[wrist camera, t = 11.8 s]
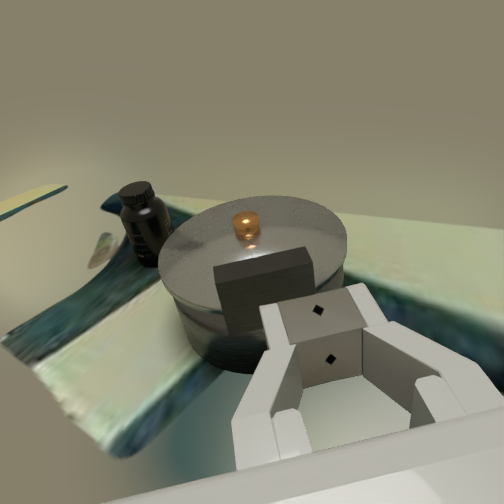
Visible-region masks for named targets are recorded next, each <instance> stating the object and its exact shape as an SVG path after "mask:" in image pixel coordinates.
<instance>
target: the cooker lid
mask: <svg viewBox="0 0 504 504" xmlns="http://www.w3.org/2000/svg"><path fill="white" fill-rule="evenodd" d="M346 253H347V234H346V230H345V227H344V225H343V223H342V222H341V220H340V219H339V218H338V217H337V216H336V215H335V214H334V213H333V212H332V211H330V210H329V209H327V208H325V207H324V206H321V205H319V204H317V203H315V202H312V201H309V200H305V199H301V198H296V197H289V196H258V197H249V198H244V199H238V200H234V201H230V202H227V203H224V204H220V205H218V206H215V207H212V208H210V209H208V210H205V211H203V212H201V213H199V214H197V215H196V216H194V217H192V218H191V219H189V220H188V221H186V222H185V223H183V224H182V225H181V226H180V227H178V228H177V229H176V230H175V231H174V232H173V233H172V234H171V235H170V236H169V238H168V239H167V240H166V242H165V243H164V245H163V247H162V249H161V251H160V254H159V259H158V270H159V273H160V276H161V279H162V282H163V284H164V286H165V288H166V289H167V291H168V292H169V293H170V294H171V295H172V296H173V297H174V298H175V299H177V300H178V301H179V302H181V303H183V304H184V305H186V306H188V307H191V308H193V309H196V310H199V311H202V312H207V313H211V314H219V315H224V319H225V322H226V326H227V330H228V333H229V336H232V335H237V334H241V333H245V332H250V331H254V330H259V329H263V324H262V319H261V314H260V309H259V306H263V305H268V304H273V303H277V302H281V301H286V300H291V299H296V298H301V297H306V296H310V295H314V294H316V292H317V291H319V290H320V289H321V288H323V287H324V286H325V285H326V284H327V283H329V282H330V281H331V280H332V279H333V277H334V276H335V275H336V274H337V273H338V271H339V270H340V268H341V267H342V265H343V263H344V260H345V258H346Z"/></svg>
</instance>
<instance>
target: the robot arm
mask: <svg viewBox="0 0 504 504" xmlns="http://www.w3.org/2000/svg"><path fill="white" fill-rule="evenodd" d="M259 309H260V314H261V319H262V324H263V329H264V334H265V339H266V344H267V348H268V350H267V351H264V353H263V355H262V358H261V360H260V362H259V364H258V366H257V368H256V370H255V372H254V374H253V377H252V379H251V381H250V383H249V385H248V387H247V389H246V391H245V393H244V395H243V397H242V400H241V402H240V404H239V406H238V408H237V410H236V412H235V414H234V416H233V419H232V421H231V424H232V433H233V441H234V449H235V459H236V467H237V471H233V472H229V473H225V474H221V475H216V476H213V477H208V478H204V479H200V480H196V481H192V482H187V483H184V484H180V485H175V486H171V487H167V488H163V489H159V490H155V491H151V492H146V493H142V494H138V495H134V496H130V497H126V498H122V499H118V500H114V501H109V502H105V503H101V504H504V398H503V396H502V395H501V394H500V392H499V391H498V390H497V389H496V387H495V386H494V385H493V383H492V382H491V381H490V380H489V378H488V377H487V376H486V374H485V373H484V372H483V371H482V369H481V368H480V367H479V365H478V364H477V363H475V362H473V361H471V360H469V359H467V358H465V357H463V356H461V355H459V354H457V353H455V352H453V351H451V350H449V349H447V348H446V347H444V346H442V345H440V344H438V343H436V342H434V341H432V340H430V339H428V338H426V337H424V336H422V335H420V334H418V333H416V332H414V331H412V330H410V329H408V328H406V327H404V326H402V325H400V324H398V323H396V322H394V321H392V322H388V321H387V319H386V318H385V316H384V314H383V313H382V311H381V310H380V308H379V306H378V305H377V303H376V302H375V300H374V298H373V297H372V295H371V293H370V292H369V290H368V289H367V287H366V285H365V284H363V283H359V284H355V285H351V286H347V287H345V288H339V289H335V290H331V291H327V292H323V293H318V294H314V295H310V296H306V297H301V298H296V299H291V300H286V301H281V302H277V303H273V304H268V305H263V306H259ZM359 375H363V377H364V378H366V379H367V380H368V381H370V382H371V383H372V384H374V385H375V386H376V387H377V388H378V389H380V390H381V391H382V392H384V393H385V394H386V395H388V396H389V397H390V398H391V399H393V400H394V401H395V402H397V403H398V404H399V405H400V406H402V407H403V408H404V409H405V410H407V411H408V412H409V413H410V414H411V419H410V427H409V429H407V430H403V431H399V432H395V433H390V434H386V435H382V436H378V437H374V438H370V439H366V440H362V441H358V442H354V443H350V444H345V445H341V446H337V447H333V448H328V449H324V450H320V451H316V452H312V449H311V446H310V442H309V439H308V436H307V432H306V429H305V426H304V422H303V420H302V416H301V412H300V411H298V407H299V403H300V400H301V397H302V393H303V389H305V388H308V387H312V386H316V385H319V384H323V383H327V382H331V381H335V380H340V379H345V378H349V377H355V376H359Z"/></svg>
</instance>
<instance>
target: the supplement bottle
mask: <svg viewBox="0 0 504 504" xmlns="http://www.w3.org/2000/svg"><path fill="white" fill-rule="evenodd" d="M118 194H119V197H120V200H121V203H122V206H123V209H122V211H121V214H120V217H121V221H122V223H123V225H124V228H125V230H126V233H127V235H128V237H129V240H130V242H131V244H132V247H133V249H134V251H135V254H136V256H137V258H138V260H139V262H140V263H141V264H143V265H145V266H151V267H153V266H158V259H159V254H160V251H161V249H162V247H163V245H164V243H165V242H166V240H167V239H168V238H169V236H170V235H171V234H172V233H173V232H174V229H173V226H172V223H171V220H170V217H169V214H168V211H167V208H166V206H165V203H164V202H163V201H162V200H161V199H160V198H158V197H155V193H154V191H153V189H152V186H151V184H150V183H149V182H146V181H139V182H135V183H131V184H129V185H126V186H125V187H123V188H122V189H121V190H120V191H119V193H118Z"/></svg>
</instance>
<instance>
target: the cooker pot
mask: <svg viewBox="0 0 504 504" xmlns="http://www.w3.org/2000/svg"><path fill="white" fill-rule="evenodd" d="M339 288H344V278H343V265H342V267H341V268H340V270H339V271H338V273H337V274H336V275H335V276H334V277H333V279H332V280H331V281H330V282H329V283H327V284H326V285H325V286H324V287H323V288H321V289H320V290H319V291H317V292H316V294H318V293H323V292H327V291H331V290H335V289H339ZM173 298H174V297H173ZM174 301H175V304H176V306H177V309H178V312H179V315H180V317H181V320H182V323H183V326H184V328H185V331H186V334H187V337H188V340H189V342H190V344H191V345H192V347H193V349H194V350H195V351H196V352H197V353H198V354H199V355H200V356H201V357H202V358H203V359H204V360H206V361H207V362H209V363H210V364H212V365H214V366H216V367H219V368H221V369H224V370H227V371H231V372H235V373H242V374H254V372H255V370H256V368H257V366H258V364H259V362H260V360H261V358H262V355H263V353H264V351H267V350H268V348H267V344H266V339H265V334H264V329H259V330H254V331H250V332H245V333H241V334H237V335H232V336H229V333H228V330H227V326H226V322H225V319H224V315H219V314H211V313H207V312H202V311H199V310H196V309H193V308H191V307H188V306H186V305H184V304H183V303H181V302H179V301H178V300H177V299H175V298H174Z"/></svg>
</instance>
